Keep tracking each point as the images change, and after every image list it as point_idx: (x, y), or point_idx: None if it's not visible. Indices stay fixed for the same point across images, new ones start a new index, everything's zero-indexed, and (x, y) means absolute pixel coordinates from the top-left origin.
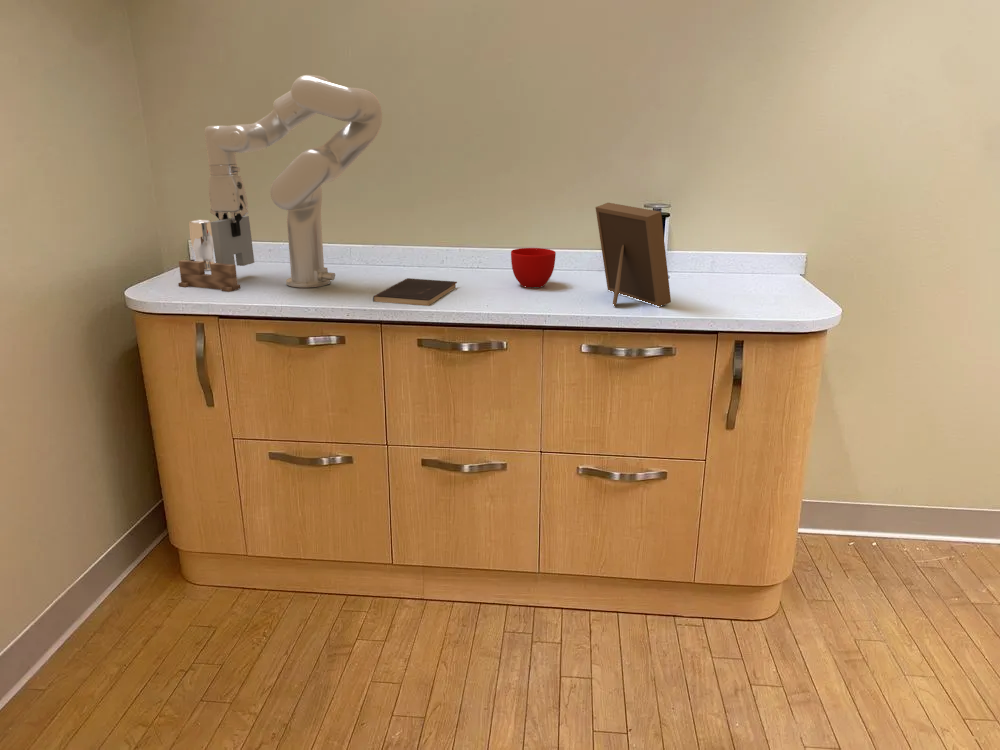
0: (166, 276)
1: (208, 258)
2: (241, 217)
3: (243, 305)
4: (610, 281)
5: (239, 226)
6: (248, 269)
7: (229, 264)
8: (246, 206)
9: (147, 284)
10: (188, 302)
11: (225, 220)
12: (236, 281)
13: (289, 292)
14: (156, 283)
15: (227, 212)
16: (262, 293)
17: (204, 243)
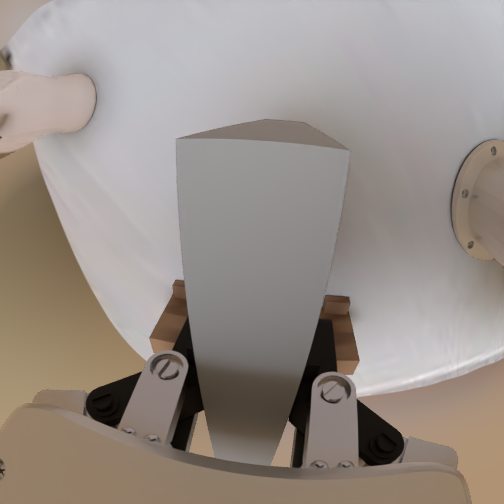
0: (68, 229)
1: (66, 112)
2: (377, 428)
3: (402, 386)
4: None
5: (333, 356)
6: (197, 33)
7: (339, 363)
8: (453, 501)
9: (108, 309)
10: None
11: (270, 454)
12: (350, 325)
13: (467, 296)
14: (113, 298)
15: (166, 439)
16: (417, 321)
17: (25, 134)
